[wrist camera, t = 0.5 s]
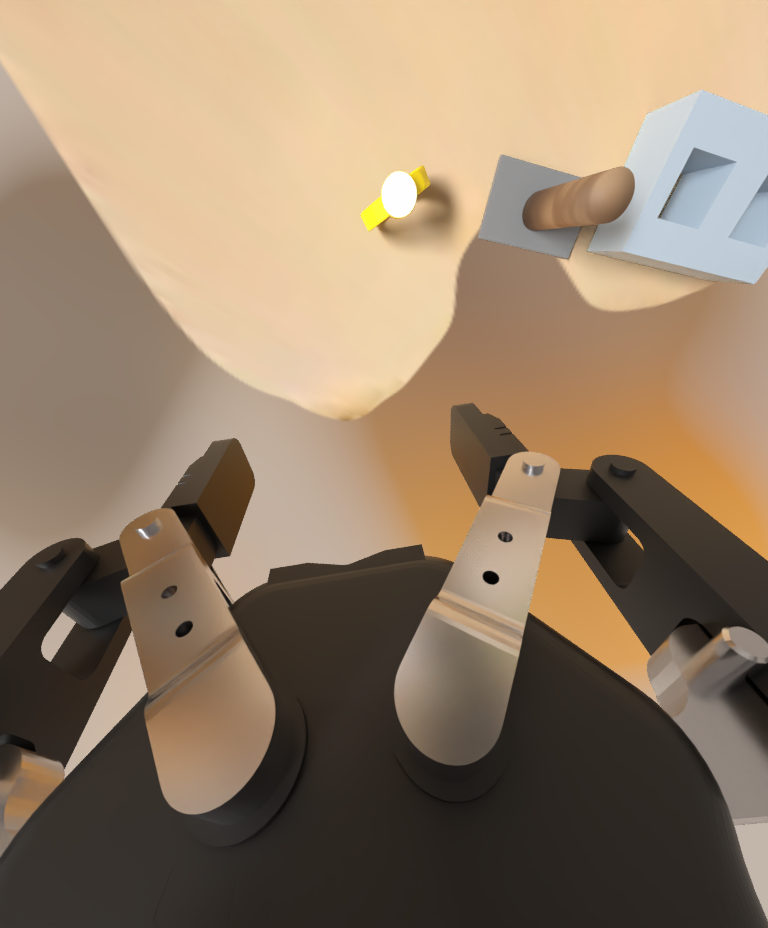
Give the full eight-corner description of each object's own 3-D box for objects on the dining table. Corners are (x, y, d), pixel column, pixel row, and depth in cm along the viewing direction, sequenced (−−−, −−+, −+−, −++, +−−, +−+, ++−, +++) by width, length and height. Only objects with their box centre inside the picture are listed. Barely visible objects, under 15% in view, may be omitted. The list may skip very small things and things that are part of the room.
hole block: (646, 113, 27) (701, 89, 23) (782, 162, 30) (852, 148, 26) (586, 251, 32) (622, 251, 28) (706, 280, 35) (754, 284, 31)
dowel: (530, 186, 29) (606, 161, 20) (558, 194, 29) (644, 173, 21) (517, 227, 30) (583, 218, 22) (544, 233, 31) (618, 227, 23)
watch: (372, 239, 30) (373, 241, 25) (356, 207, 29) (354, 202, 24) (427, 197, 28) (440, 191, 24) (413, 161, 27) (424, 146, 22)
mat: (500, 155, 27) (502, 154, 27) (596, 183, 29) (599, 182, 29) (477, 238, 31) (478, 238, 30) (565, 258, 33) (567, 258, 32)
